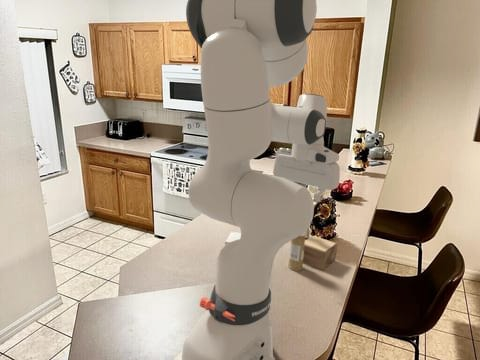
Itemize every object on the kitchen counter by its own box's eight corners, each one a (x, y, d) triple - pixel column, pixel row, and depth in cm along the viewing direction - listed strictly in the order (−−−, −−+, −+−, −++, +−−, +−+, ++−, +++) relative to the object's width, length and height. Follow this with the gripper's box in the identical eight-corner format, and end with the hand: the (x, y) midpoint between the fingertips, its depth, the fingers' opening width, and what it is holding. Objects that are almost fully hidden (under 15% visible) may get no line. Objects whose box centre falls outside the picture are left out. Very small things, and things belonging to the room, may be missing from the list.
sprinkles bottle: (305, 268, 113) (309, 228, 109) (294, 272, 110) (298, 231, 107) (295, 262, 116) (299, 223, 113) (284, 265, 114) (288, 226, 110)
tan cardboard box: (323, 270, 112) (325, 252, 111) (298, 260, 118) (299, 243, 116) (335, 260, 119) (337, 243, 118) (310, 251, 125) (312, 235, 123)
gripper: (271, 147, 107) (267, 191, 111) (335, 159, 95) (329, 208, 99) (282, 145, 112) (278, 188, 116) (344, 156, 100) (338, 203, 104)
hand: (302, 197), depth 107 cm, fingers open, 8 cm apart
